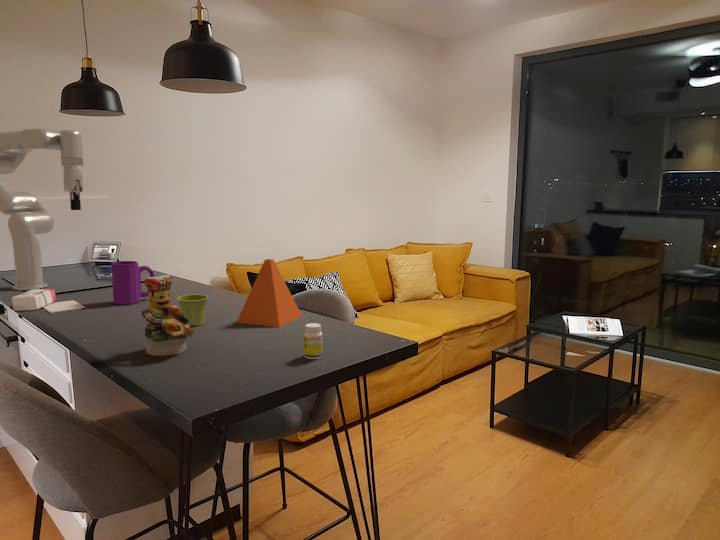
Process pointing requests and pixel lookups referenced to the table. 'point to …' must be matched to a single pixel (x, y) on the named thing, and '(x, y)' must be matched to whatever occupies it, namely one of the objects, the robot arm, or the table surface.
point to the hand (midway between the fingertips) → (75, 209)
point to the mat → (62, 306)
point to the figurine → (164, 320)
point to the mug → (128, 282)
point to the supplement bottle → (313, 341)
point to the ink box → (33, 299)
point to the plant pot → (193, 308)
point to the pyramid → (269, 299)
